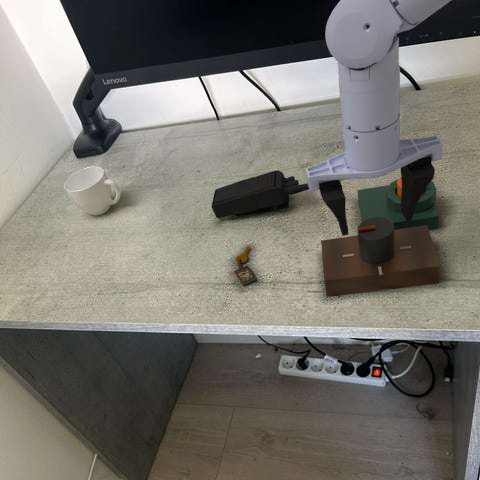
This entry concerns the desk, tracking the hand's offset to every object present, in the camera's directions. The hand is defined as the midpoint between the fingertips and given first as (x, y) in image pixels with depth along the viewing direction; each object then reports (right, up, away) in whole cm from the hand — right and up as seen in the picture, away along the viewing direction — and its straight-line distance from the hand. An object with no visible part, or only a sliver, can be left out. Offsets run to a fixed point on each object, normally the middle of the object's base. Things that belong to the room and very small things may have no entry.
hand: (375, 223), depth 60 cm
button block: (+6, +4, +12) cm, 14 cm away
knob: (+1, -3, +4) cm, 5 cm away
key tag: (-15, -4, +12) cm, 20 cm away
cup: (-42, +9, +33) cm, 54 cm away
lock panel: (+2, -5, +6) cm, 8 cm away
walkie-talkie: (-11, +7, +21) cm, 24 cm away
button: (+8, +6, +9) cm, 13 cm away
